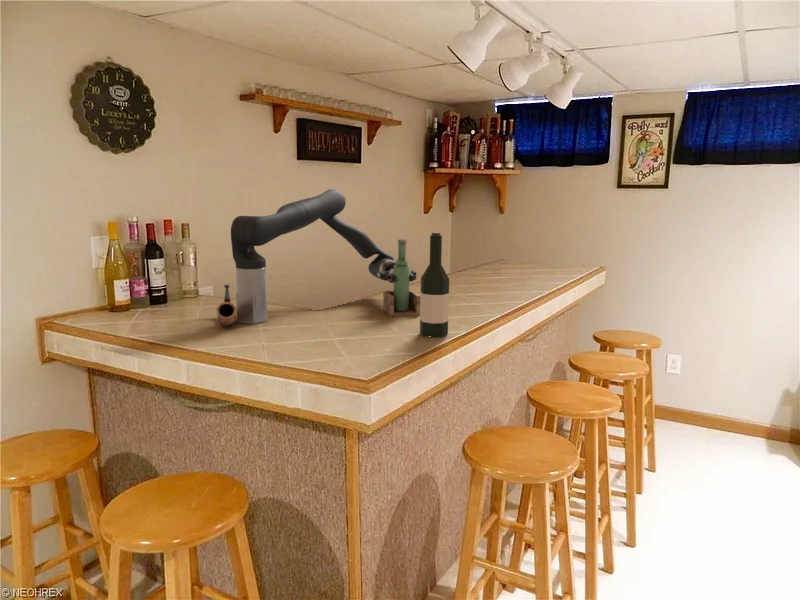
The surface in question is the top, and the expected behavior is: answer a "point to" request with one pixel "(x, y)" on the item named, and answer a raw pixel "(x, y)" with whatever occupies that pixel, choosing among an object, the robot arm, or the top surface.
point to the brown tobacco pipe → (226, 310)
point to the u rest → (413, 310)
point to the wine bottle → (434, 293)
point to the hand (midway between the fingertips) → (403, 278)
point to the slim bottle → (401, 278)
